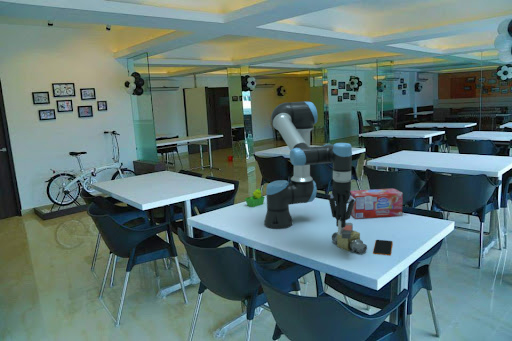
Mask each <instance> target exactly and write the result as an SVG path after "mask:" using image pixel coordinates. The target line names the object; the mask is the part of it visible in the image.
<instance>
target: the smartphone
mask: <svg viewBox="0 0 512 341" xmlns="http://www.w3.org/2000/svg"><path fill="white" fill-rule="evenodd" d="M392 250H393V241H392V240H386V239H376V240H375V241H374V247H373V250H372V254H373V255H377V256H378V255H380V256H390V257H391V256H392Z"/></svg>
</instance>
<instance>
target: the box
mask: <svg viewBox="0 0 512 341" xmlns="http://www.w3.org/2000/svg"><path fill="white" fill-rule="evenodd" d="M350 192H351V196H352V197H353V198H356V202H355V203H354V206H353V209H352V213H351V217H353V219H356V220H358V219H363V220H364V219H375V218H376V219H377V218H393V217H394V218H395V217H402V216H403V202H404V201H403V196H404V195H403V194H404V193H403V192H402V191H400V190H398V189H396V188H379V189H378V188H377V189H375V188H373V189H358V190H357V189H356V190H351V191H350Z"/></svg>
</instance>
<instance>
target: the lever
mask: <svg viewBox="0 0 512 341" xmlns="http://www.w3.org/2000/svg"><path fill="white" fill-rule="evenodd" d="M353 225H354V224H353V223H352V222H346V226H345V227H344V230H343V232H342V238H344V239H350V238H351V233H352V232H353V231H354V229H353Z"/></svg>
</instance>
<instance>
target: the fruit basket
mask: <svg viewBox="0 0 512 341" xmlns="http://www.w3.org/2000/svg"><path fill="white" fill-rule="evenodd" d="M265 197H266V196H264V195H262V191H261V189H260V188H256V189H255V190H254V191H253V193H252V196H249V197H245V198H244V199H245V200H244V201H245V203H246V205H247V207H251V208H255V207H258V206H263V205H264V201H265V199H266V198H265Z"/></svg>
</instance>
